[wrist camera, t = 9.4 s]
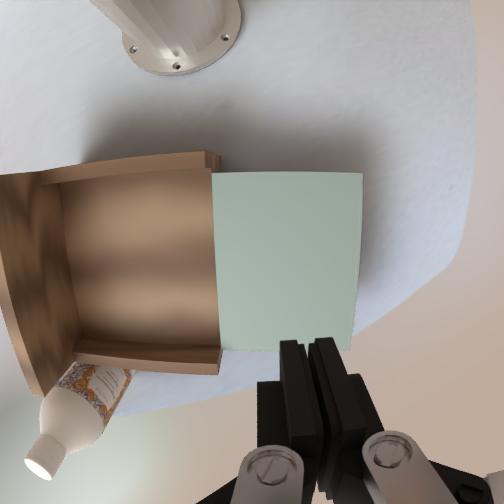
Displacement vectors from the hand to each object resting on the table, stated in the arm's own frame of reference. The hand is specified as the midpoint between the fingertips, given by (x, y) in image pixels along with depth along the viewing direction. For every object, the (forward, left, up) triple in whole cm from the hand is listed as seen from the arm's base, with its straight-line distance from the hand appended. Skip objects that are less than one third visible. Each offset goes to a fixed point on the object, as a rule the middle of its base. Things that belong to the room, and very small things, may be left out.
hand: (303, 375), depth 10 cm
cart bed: (+1, -13, -23) cm, 26 cm away
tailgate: (+1, -5, -17) cm, 17 cm away
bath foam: (+15, -20, -23) cm, 34 cm away
